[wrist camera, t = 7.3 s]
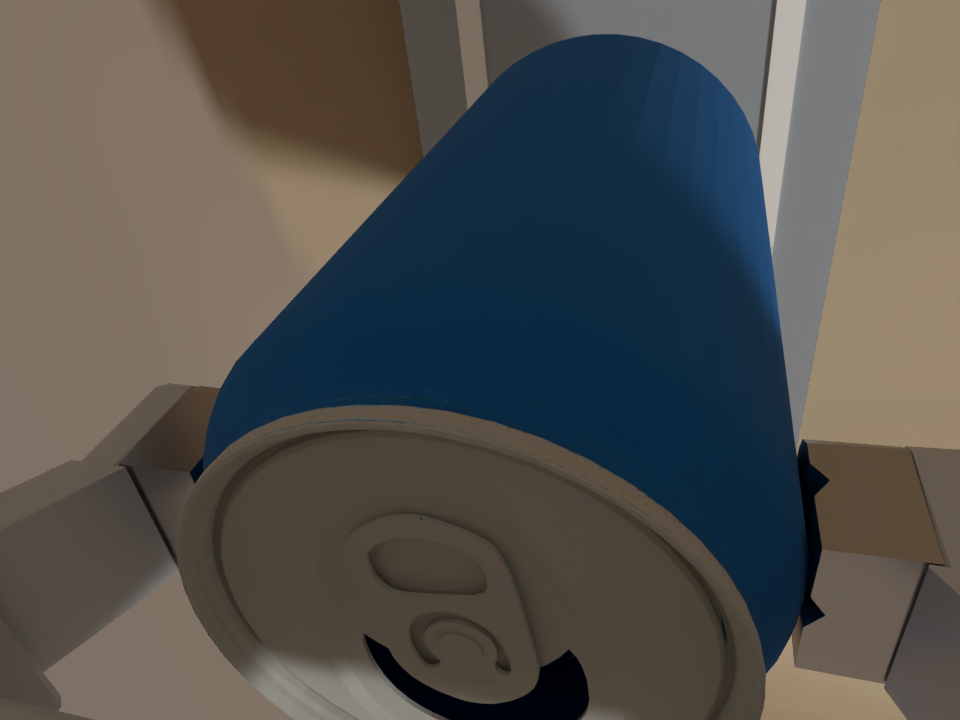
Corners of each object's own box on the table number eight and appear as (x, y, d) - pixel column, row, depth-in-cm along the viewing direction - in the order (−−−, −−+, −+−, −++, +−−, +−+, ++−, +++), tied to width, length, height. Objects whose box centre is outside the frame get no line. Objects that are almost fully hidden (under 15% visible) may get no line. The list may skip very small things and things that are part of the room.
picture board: (389, -139, 17) (375, -137, 17) (910, -206, 14) (920, -207, 14) (474, 436, 28) (468, 452, 27) (787, 466, 25) (790, 485, 24)
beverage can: (500, 318, 19) (285, 788, 10) (431, 61, 16) (3, 394, 6) (766, 295, 17) (827, 880, 7) (750, -10, 14) (823, 342, 4)
